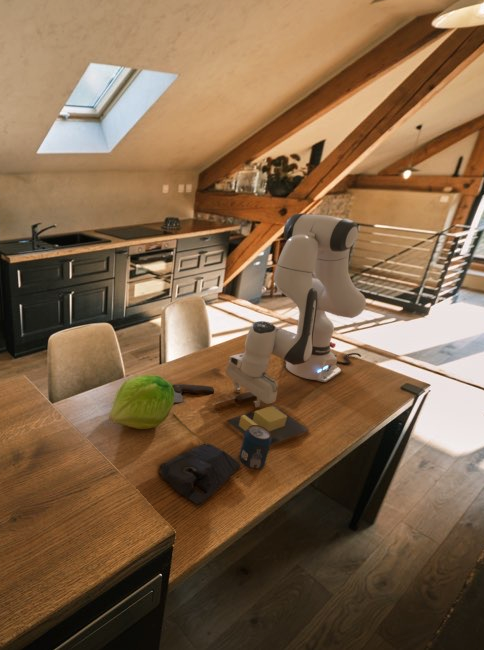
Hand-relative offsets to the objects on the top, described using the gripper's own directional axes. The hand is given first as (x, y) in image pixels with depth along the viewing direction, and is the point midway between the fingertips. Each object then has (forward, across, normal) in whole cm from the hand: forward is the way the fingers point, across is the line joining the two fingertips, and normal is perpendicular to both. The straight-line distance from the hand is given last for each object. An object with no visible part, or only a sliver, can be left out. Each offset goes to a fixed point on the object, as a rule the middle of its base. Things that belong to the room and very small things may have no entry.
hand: (246, 399), depth 139 cm
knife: (+1, 0, +5) cm, 5 cm away
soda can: (+2, -23, +22) cm, 32 cm away
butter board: (+1, -14, +4) cm, 14 cm away
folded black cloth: (+2, -20, +38) cm, 43 cm away
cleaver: (+2, +13, +22) cm, 25 cm away
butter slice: (0, -13, +13) cm, 18 cm away
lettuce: (+2, +5, +42) cm, 43 cm away
